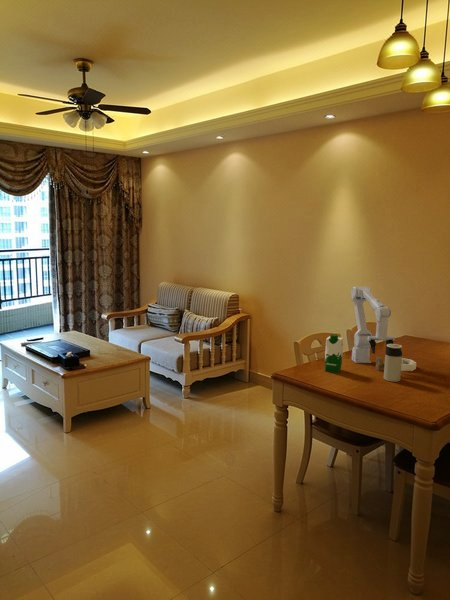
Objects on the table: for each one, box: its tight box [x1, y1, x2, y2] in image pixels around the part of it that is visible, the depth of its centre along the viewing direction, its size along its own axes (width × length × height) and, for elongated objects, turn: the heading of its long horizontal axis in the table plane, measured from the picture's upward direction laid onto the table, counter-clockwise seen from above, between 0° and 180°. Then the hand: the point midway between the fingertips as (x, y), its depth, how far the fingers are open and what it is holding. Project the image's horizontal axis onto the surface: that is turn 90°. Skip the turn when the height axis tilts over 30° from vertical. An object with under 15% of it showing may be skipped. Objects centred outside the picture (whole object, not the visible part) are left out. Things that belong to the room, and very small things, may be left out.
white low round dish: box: [401, 357, 417, 372], centre depth 262 cm, size 14×14×4 cm
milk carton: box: [324, 334, 344, 374], centre depth 252 cm, size 9×9×20 cm
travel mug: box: [383, 343, 403, 383], centre depth 238 cm, size 8×8×18 cm
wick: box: [375, 356, 384, 372], centre depth 255 cm, size 4×2×7 cm, turn 4°
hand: (380, 353), depth 255 cm, fingers open, 7 cm apart
